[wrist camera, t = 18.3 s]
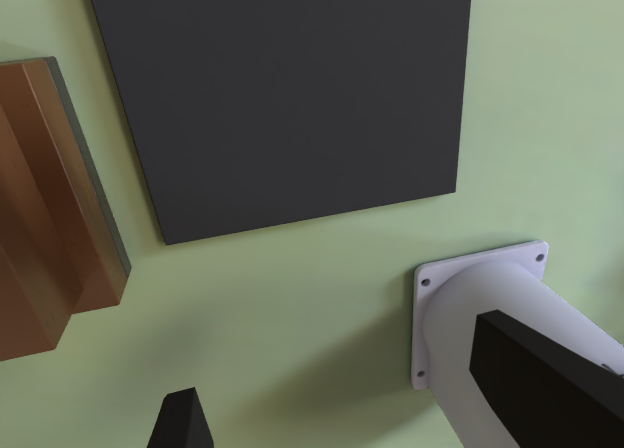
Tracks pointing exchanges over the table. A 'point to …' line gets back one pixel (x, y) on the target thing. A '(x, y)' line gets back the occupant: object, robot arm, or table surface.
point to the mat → (287, 105)
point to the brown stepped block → (49, 214)
